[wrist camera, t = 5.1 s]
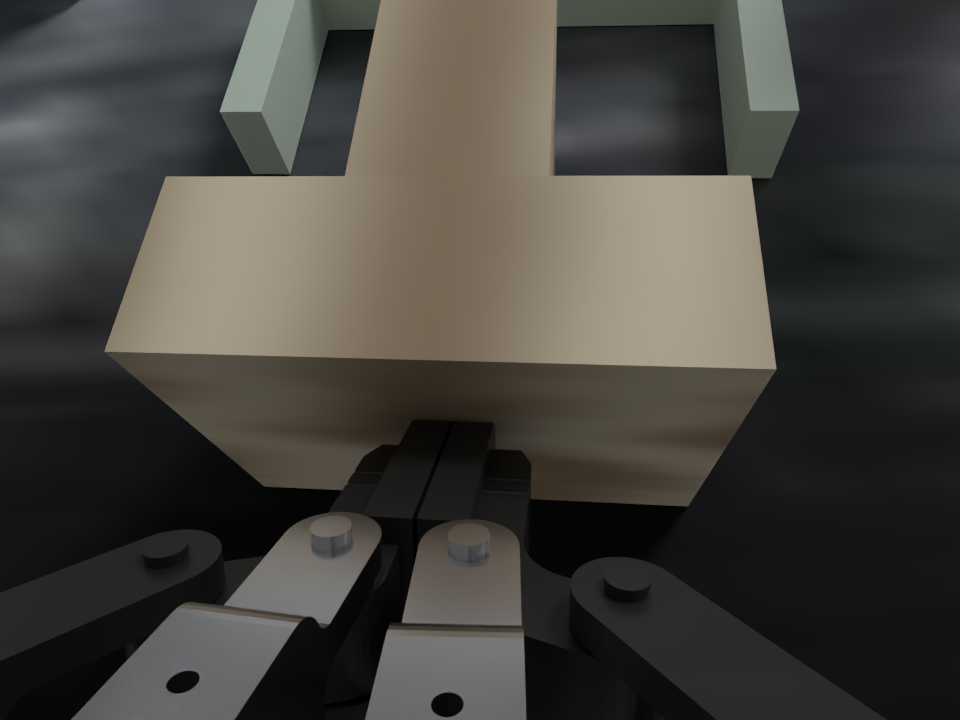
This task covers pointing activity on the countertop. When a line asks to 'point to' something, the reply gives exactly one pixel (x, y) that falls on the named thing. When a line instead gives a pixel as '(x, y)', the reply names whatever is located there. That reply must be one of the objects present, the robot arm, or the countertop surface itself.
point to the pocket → (725, 3)
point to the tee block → (457, 285)
